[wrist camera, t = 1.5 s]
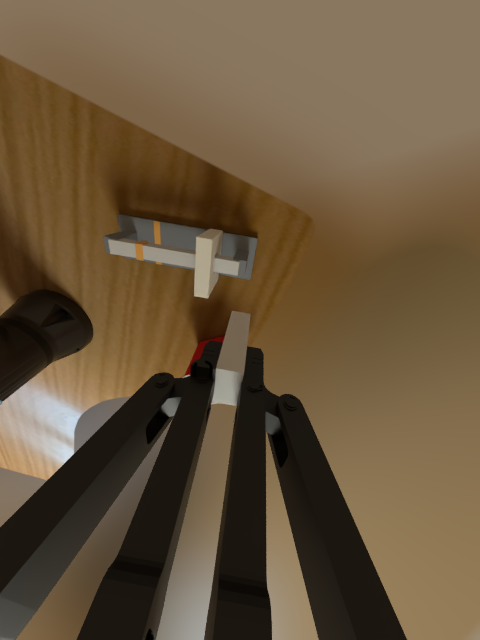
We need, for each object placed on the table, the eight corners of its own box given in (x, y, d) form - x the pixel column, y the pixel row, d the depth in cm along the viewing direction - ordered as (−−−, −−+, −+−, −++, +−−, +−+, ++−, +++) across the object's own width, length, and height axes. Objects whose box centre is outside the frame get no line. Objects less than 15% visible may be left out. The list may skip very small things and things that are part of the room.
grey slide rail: (125, 256, 38) (99, 267, 32) (120, 214, 35) (89, 217, 28) (250, 278, 38) (247, 293, 32) (257, 237, 34) (256, 246, 28)
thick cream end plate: (206, 277, 37) (194, 296, 30) (210, 228, 33) (196, 236, 26) (218, 279, 37) (207, 298, 30) (223, 230, 32) (212, 239, 26)
